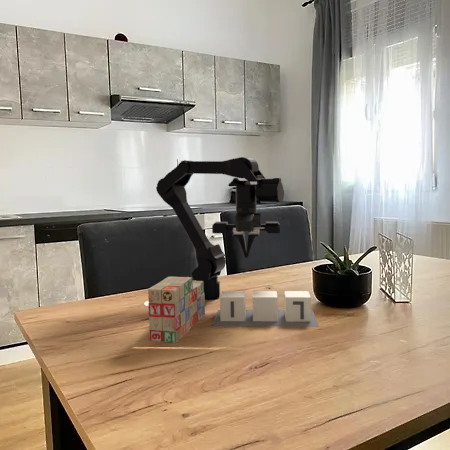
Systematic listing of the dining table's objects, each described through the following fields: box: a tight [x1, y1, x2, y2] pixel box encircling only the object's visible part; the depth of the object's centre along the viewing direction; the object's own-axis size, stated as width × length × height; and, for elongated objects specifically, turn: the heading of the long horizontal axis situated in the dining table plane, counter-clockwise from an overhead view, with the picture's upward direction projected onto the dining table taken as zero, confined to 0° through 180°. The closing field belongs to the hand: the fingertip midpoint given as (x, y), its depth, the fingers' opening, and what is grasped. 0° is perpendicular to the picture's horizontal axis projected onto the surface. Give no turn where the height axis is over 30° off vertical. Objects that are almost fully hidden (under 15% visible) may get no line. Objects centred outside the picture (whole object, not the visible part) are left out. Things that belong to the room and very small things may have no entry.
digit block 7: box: [283, 290, 312, 322], centre depth 112 cm, size 6×6×6 cm
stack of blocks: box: [147, 276, 206, 343], centre depth 107 cm, size 21×6×12 cm, turn 166°
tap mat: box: [212, 309, 319, 327], centre depth 113 cm, size 25×13×1 cm, turn 85°
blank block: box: [252, 290, 279, 321], centre depth 113 cm, size 6×6×6 cm
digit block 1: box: [219, 290, 247, 321], centre depth 113 cm, size 6×6×6 cm
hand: (246, 257), depth 127 cm, fingers closed
